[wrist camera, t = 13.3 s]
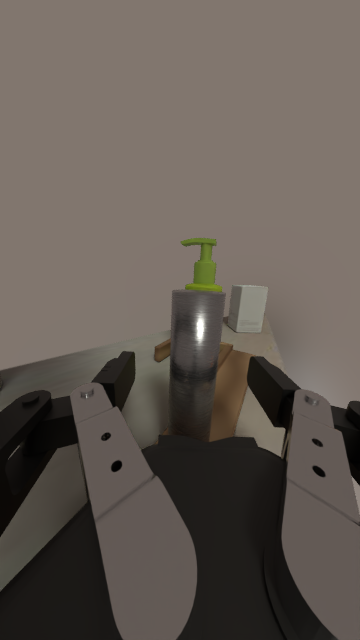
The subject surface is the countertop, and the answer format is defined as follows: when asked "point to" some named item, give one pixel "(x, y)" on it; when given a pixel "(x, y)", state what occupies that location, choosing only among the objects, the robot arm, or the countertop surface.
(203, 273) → the soap dispenser
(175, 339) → the base with upright cylinder
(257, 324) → the supplement box
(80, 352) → the countertop surface
